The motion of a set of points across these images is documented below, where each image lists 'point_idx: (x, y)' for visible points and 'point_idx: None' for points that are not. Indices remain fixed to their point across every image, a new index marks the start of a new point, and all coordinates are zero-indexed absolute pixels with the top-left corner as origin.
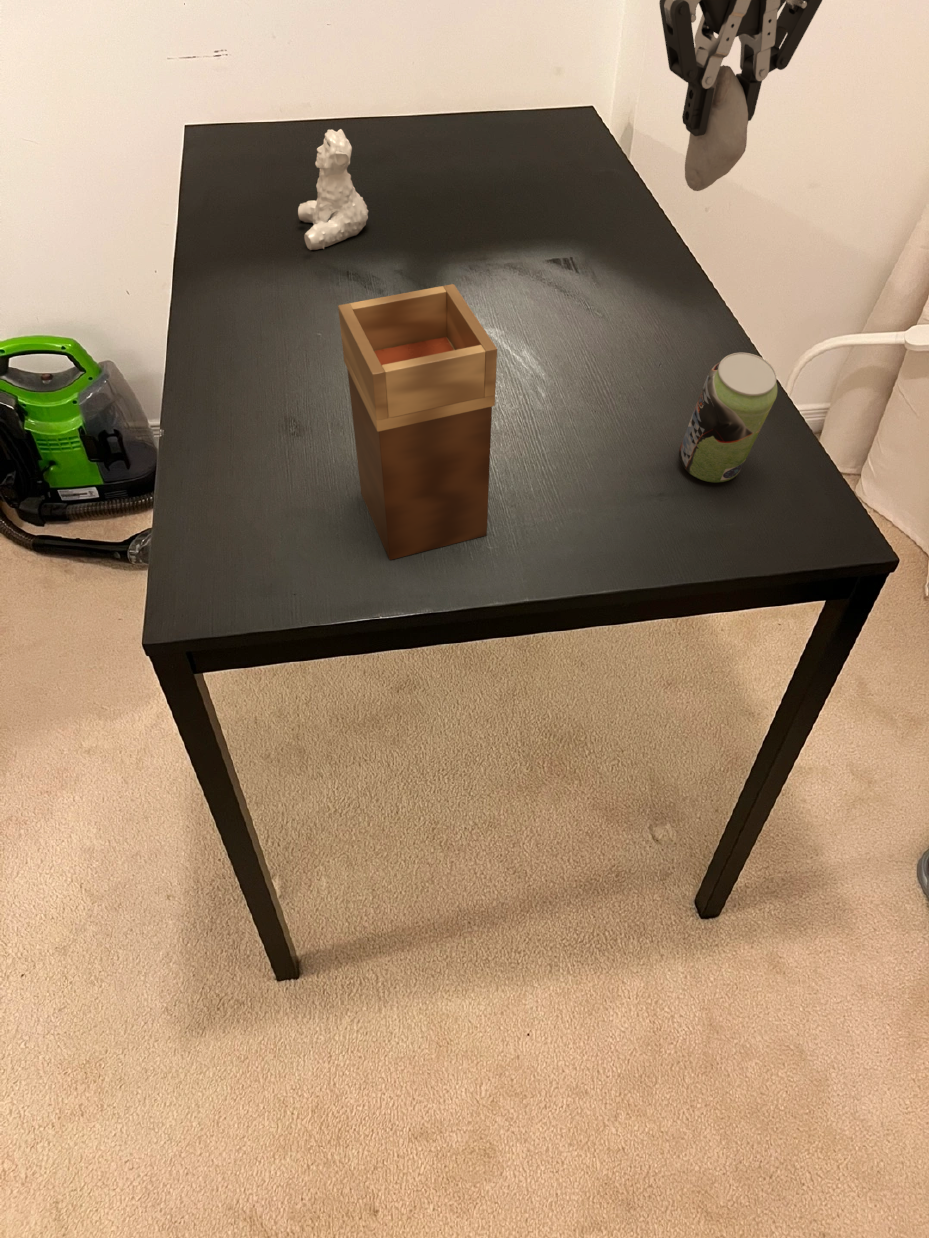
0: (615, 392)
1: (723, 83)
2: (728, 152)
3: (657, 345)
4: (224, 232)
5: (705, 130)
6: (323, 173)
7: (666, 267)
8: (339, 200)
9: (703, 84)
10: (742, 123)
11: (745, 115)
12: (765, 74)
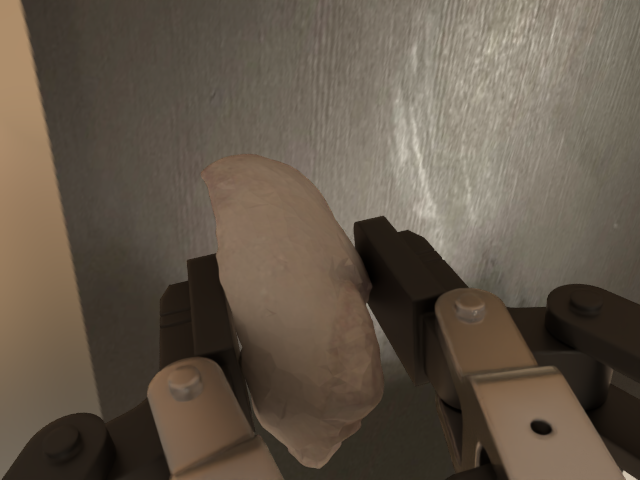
0: (307, 34)
1: (368, 332)
2: (269, 161)
3: (201, 149)
4: None
5: (360, 226)
6: None
7: (128, 346)
8: None
9: (483, 297)
10: (246, 214)
11: (232, 244)
12: (169, 376)
